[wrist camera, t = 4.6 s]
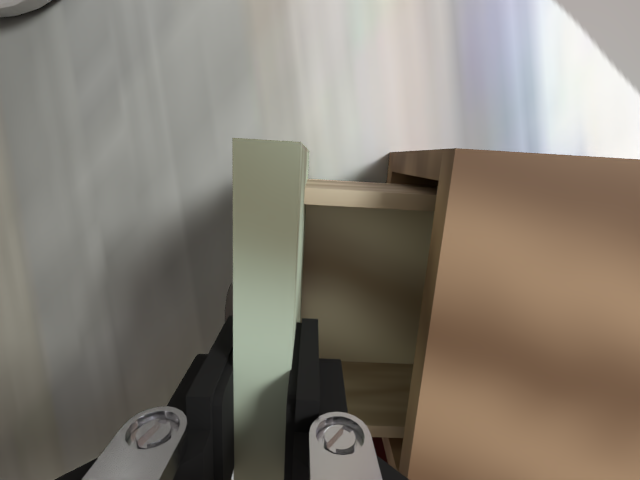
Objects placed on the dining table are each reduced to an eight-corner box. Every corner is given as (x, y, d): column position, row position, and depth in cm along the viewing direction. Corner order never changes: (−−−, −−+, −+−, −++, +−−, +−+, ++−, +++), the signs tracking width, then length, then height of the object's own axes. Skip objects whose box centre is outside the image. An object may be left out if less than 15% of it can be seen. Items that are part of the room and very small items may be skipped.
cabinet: (389, 152, 19) (455, 148, 10) (602, 165, 19) (845, 171, 10) (366, 375, 22) (401, 519, 13) (548, 382, 22) (698, 527, 14)
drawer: (253, 148, 18) (152, 133, 7) (503, 163, 19) (794, 171, 7) (250, 371, 21) (179, 611, 10) (464, 380, 22) (624, 620, 11)
